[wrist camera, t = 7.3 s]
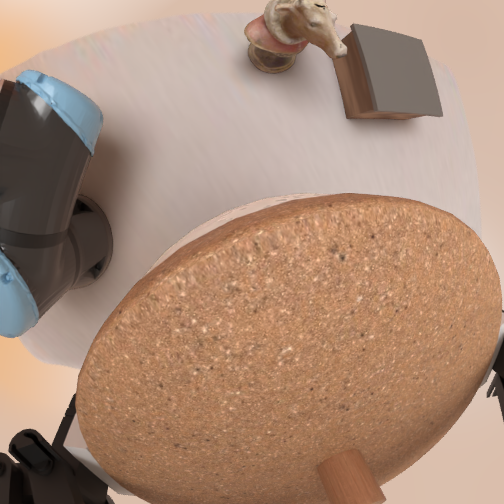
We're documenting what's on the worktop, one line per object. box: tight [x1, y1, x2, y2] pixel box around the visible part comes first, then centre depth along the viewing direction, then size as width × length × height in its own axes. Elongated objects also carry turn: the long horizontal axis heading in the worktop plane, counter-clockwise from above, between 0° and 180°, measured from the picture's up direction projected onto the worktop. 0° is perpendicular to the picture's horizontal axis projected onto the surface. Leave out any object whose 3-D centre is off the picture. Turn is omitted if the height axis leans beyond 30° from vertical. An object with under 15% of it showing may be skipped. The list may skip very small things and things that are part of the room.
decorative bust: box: [244, 0, 347, 73], centre depth 22 cm, size 11×13×25 cm
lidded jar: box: [75, 193, 502, 504], centre depth 7 cm, size 11×11×9 cm
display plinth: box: [332, 24, 443, 120], centre depth 32 cm, size 14×14×10 cm
